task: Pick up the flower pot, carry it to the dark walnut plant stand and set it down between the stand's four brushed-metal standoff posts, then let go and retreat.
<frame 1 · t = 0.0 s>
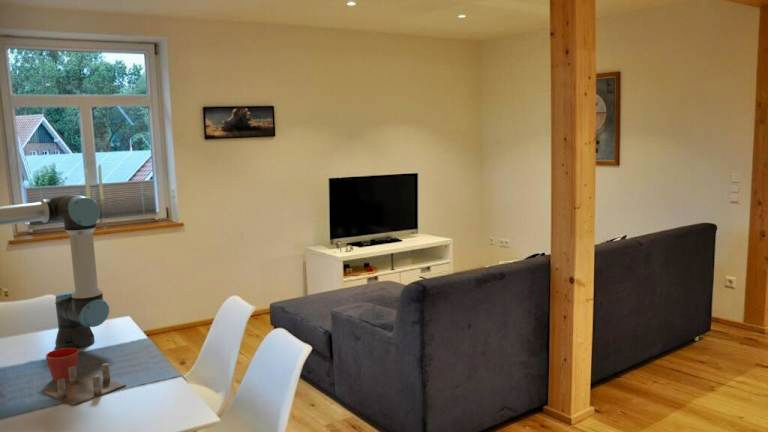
flower pot: (65, 378, 229), on the table
plant stand: (85, 389, 217), on the table
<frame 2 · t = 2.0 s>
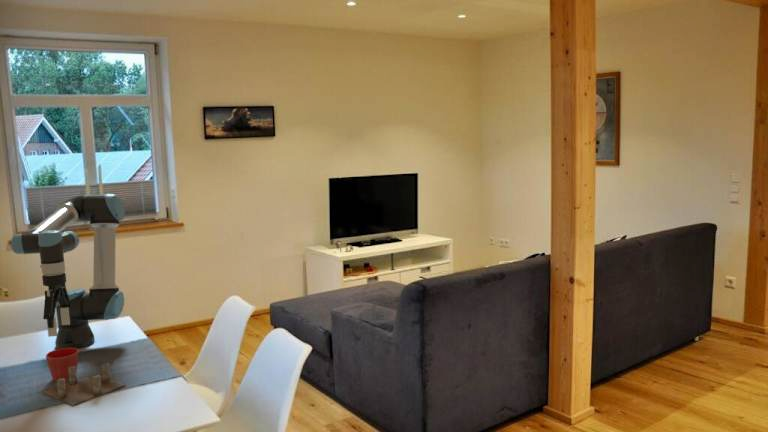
hand: (59, 330, 226), 18 cm above the table, fingers open, 13 cm apart
nothing on the table moved.
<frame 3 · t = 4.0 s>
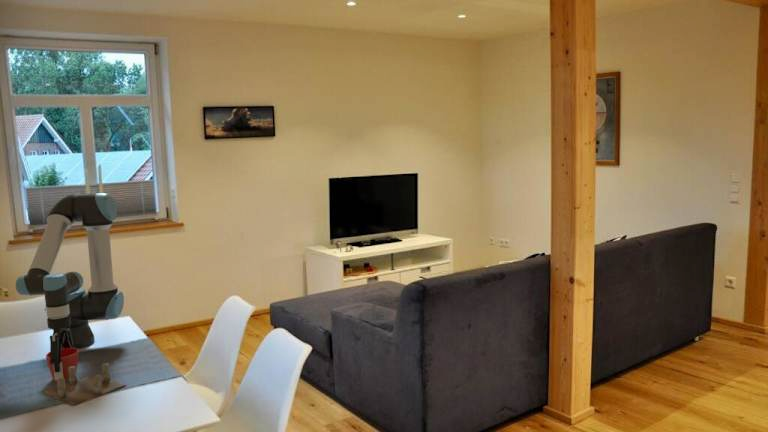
hand: (64, 373, 229), 1 cm above the table, fingers closed on flower pot, 10 cm apart
flower pot: (65, 378, 229), on the table, touching gripper
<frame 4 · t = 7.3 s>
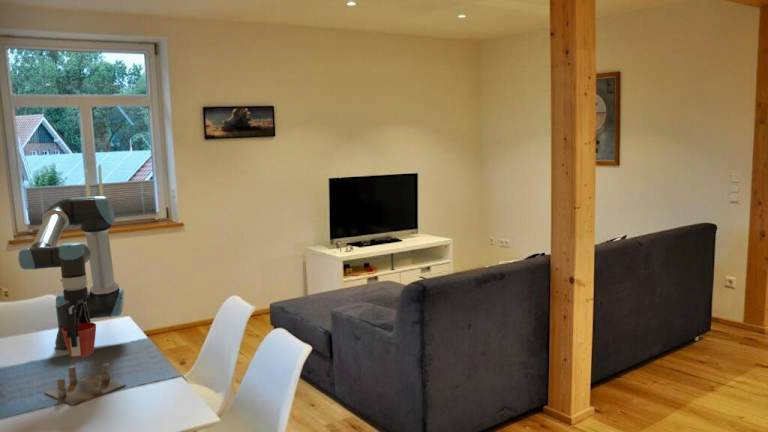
hand: (81, 349, 215), 15 cm above the table, fingers closed on flower pot, 10 cm apart
flower pot: (81, 354, 215), point 13 cm above the table, touching gripper
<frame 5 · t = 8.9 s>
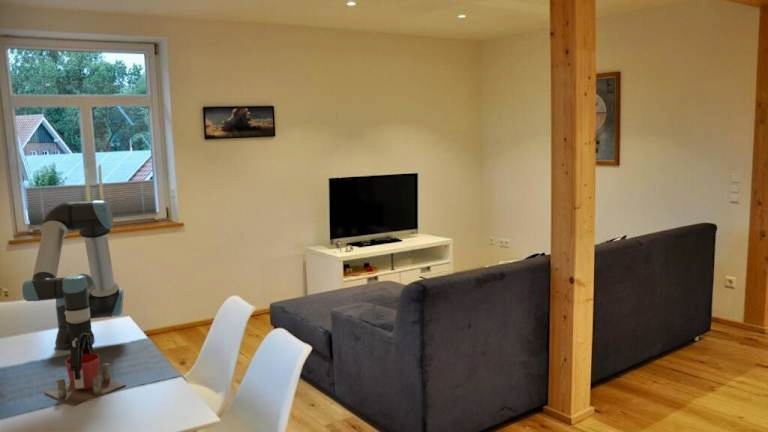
hand: (84, 381, 216), 3 cm above the table, fingers closed on flower pot, 10 cm apart
flower pot: (85, 385, 217), point 2 cm above the table, touching gripper
when the fingers open (2 cm above the table, at t = 10.3 s): flower pot stays where it is, resting on plant stand.
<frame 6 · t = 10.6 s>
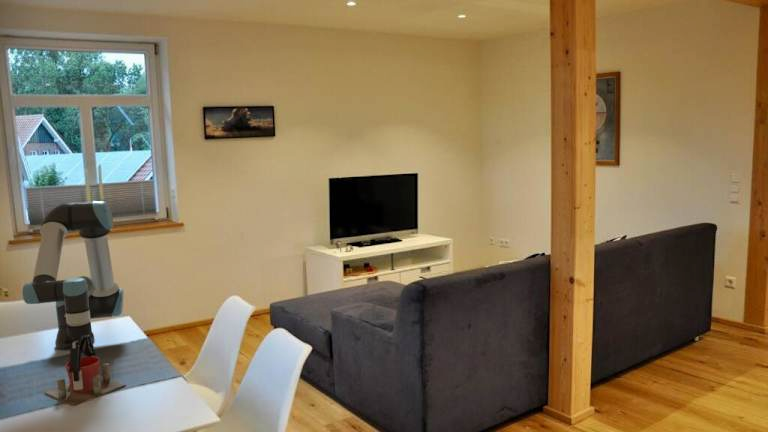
hand: (84, 381, 216), 3 cm above the table, fingers open, 13 cm apart
flower pot: (85, 388, 217), resting on plant stand
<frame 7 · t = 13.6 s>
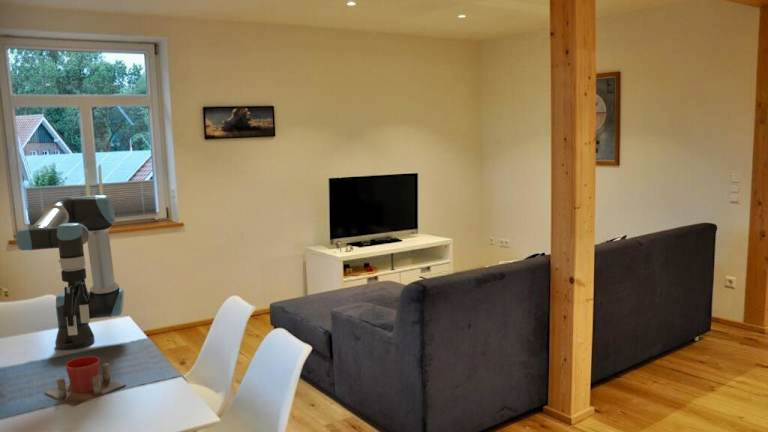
hand: (79, 328, 214), 22 cm above the table, fingers open, 13 cm apart
nothing on the table moved.
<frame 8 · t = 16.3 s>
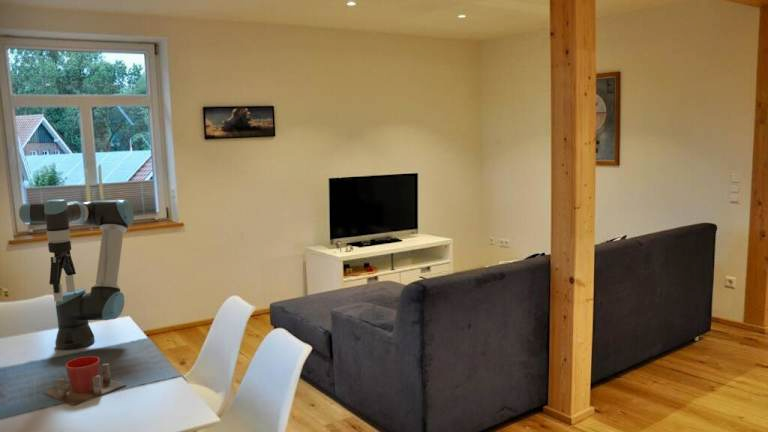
hand: (65, 296, 233), 29 cm above the table, fingers open, 13 cm apart
nothing on the table moved.
at the end: flower pot 0.2 cm off-centre on the plant stand, point 0.4 cm above the plant stand's base; flower pot tilted 0°; the gripper is holding nothing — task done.
